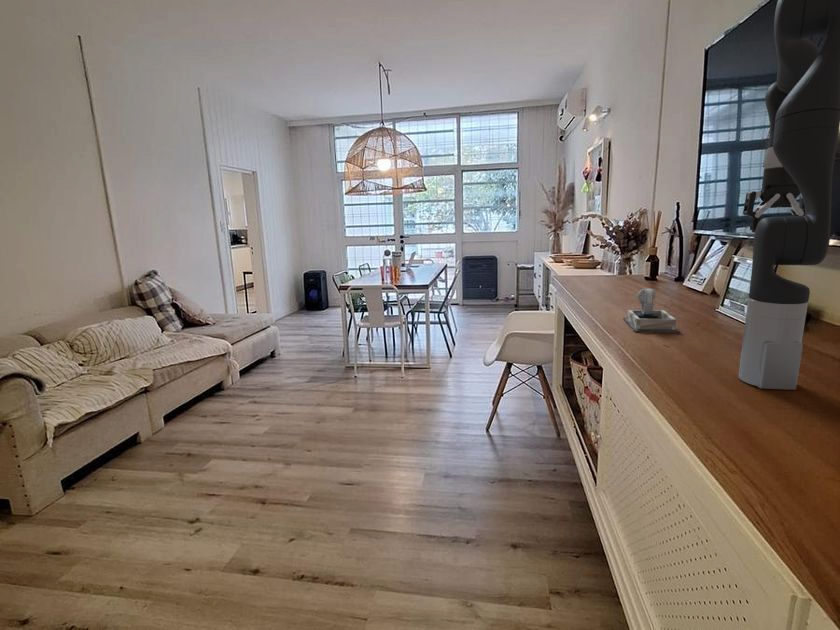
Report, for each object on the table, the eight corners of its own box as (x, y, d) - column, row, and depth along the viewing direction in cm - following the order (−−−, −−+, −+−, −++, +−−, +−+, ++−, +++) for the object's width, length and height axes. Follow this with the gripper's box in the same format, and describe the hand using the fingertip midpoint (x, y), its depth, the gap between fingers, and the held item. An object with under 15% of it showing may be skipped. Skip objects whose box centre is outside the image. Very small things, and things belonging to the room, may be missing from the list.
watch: (653, 321, 137) (656, 286, 135) (658, 327, 130) (661, 291, 127) (633, 320, 139) (636, 286, 136) (637, 326, 132) (639, 291, 129)
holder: (680, 333, 125) (681, 321, 125) (634, 332, 128) (635, 320, 127) (663, 319, 140) (664, 308, 140) (623, 319, 143) (623, 308, 142)
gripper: (757, 166, 107) (749, 233, 111) (826, 162, 104) (815, 231, 107) (743, 169, 114) (736, 232, 118) (807, 165, 111) (797, 230, 115)
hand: (774, 231), depth 113 cm, fingers open, 8 cm apart
